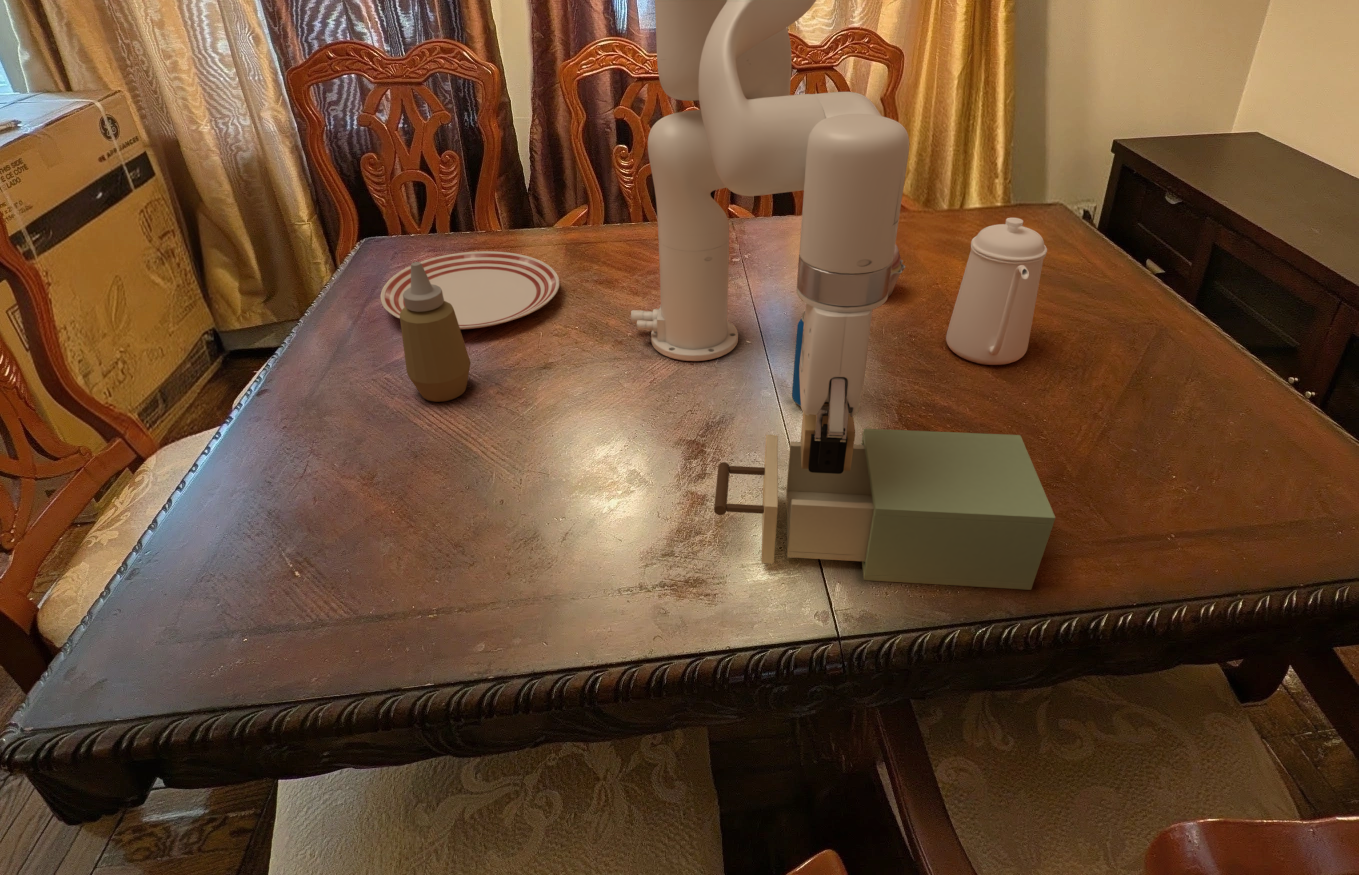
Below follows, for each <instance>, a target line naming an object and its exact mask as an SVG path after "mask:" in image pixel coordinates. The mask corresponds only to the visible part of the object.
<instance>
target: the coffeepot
mask: <svg viewBox="0 0 1359 875" xmlns="http://www.w3.org/2000/svg"><path fill="white" fill-rule="evenodd" d="M1047 253H1048V248H1047V245H1045V241H1044V238H1043V236H1042V235H1041V234H1040V233H1039V232H1037V231H1036V230H1034V229H1032V228H1030V227H1027V226H1024V220H1023V219H1022V218H1019V217H1007V218H1005V222H1004V223H999V224H998V223H997V224H992V225H988V226H986V227H984V228H982V229H981V230H980V231H979V232H978V233H977V235H976V236H974V237H973V238H972V239H971V241H970V252H969V255H968V259H967V261H966V265H965V268H964V272H963V276H962V278H961V282H960V286H959V290H958V293H957V297H956V300H955V302H954V307H953V310H952V314H951V317H950V320H949V324H948V327H947V330H946V334H945V342H946V345H947V347H949V350H951V351H952V352H953V353H954V354H956V355H957V356H958V357H960V358H962V359H964V360H966V361H969V362H972V363H976V364H980V365H986V366H987V365H989V366H1003V365H1009V364H1011V363H1014V362H1017V361H1018V360H1020V359H1021V358H1023V357H1024V356H1025V354H1026V353H1027V351H1028V348H1029V342H1030V336H1031V331H1032V325H1033V319H1034V315H1035V309H1036V304H1037V296H1038V293H1039V286H1040V280H1041V275H1042V270H1043V264H1044V259H1045V258H1046V256H1047Z"/></svg>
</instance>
